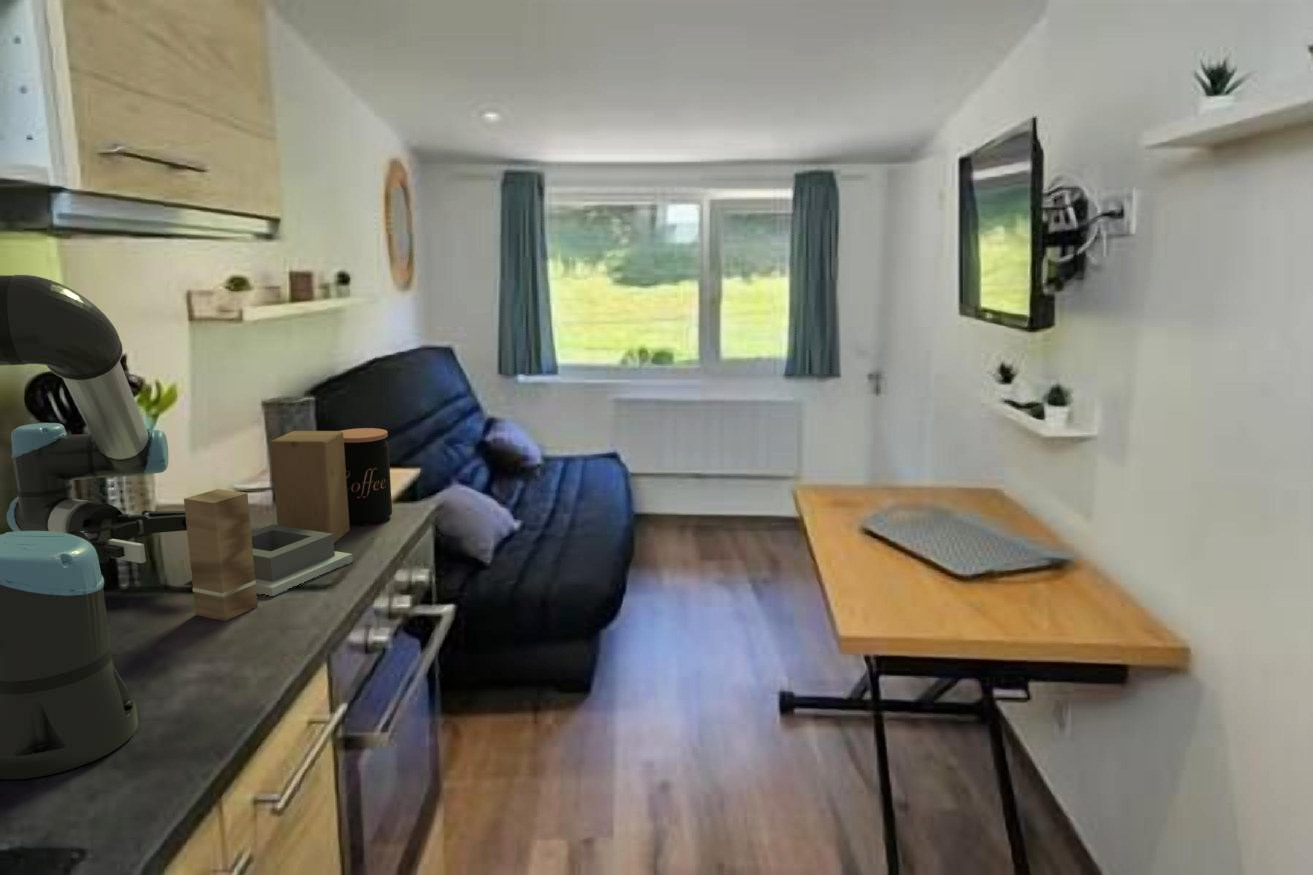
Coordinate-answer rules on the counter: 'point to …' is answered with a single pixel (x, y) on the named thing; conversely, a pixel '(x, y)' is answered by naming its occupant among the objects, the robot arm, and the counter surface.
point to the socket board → (291, 557)
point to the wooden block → (311, 481)
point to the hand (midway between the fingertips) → (182, 540)
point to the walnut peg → (221, 553)
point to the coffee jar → (367, 476)
